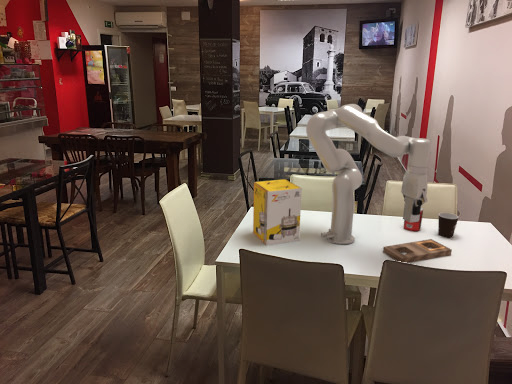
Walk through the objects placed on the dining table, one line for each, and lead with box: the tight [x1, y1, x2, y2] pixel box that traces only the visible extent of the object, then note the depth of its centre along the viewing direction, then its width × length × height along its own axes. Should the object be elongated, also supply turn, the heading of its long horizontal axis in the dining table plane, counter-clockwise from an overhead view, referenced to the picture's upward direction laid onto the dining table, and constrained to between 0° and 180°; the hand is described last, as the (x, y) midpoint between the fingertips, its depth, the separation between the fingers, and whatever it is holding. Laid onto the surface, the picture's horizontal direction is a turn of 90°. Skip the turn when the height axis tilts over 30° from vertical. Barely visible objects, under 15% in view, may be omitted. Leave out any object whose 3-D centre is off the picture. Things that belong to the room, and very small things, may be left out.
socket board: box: [382, 238, 453, 264], centre depth 178 cm, size 26×12×3 cm, turn 111°
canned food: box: [403, 206, 424, 232], centre depth 205 cm, size 8×8×11 cm
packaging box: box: [252, 178, 303, 246], centre depth 191 cm, size 16×16×25 cm
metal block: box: [402, 196, 421, 223], centre depth 171 cm, size 4×4×10 cm
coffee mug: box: [437, 212, 459, 239], centre depth 198 cm, size 12×9×10 cm
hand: (411, 212), depth 171 cm, fingers closed on metal block, 4 cm apart
